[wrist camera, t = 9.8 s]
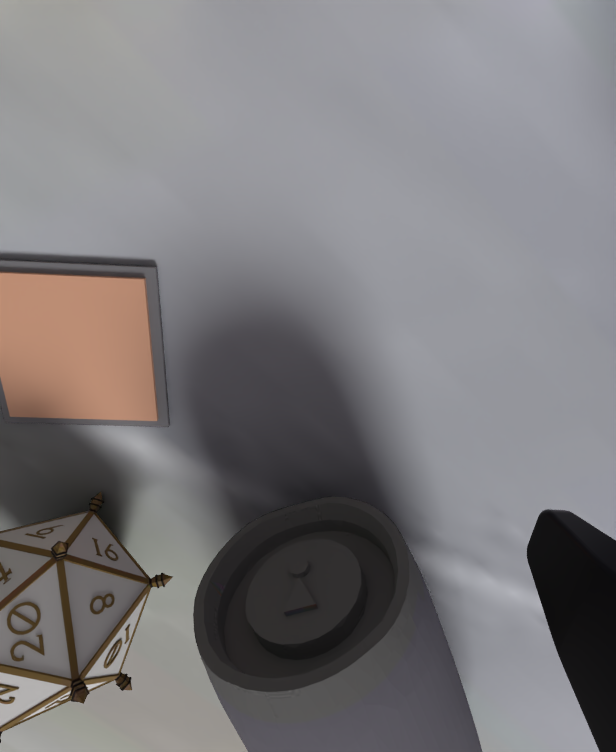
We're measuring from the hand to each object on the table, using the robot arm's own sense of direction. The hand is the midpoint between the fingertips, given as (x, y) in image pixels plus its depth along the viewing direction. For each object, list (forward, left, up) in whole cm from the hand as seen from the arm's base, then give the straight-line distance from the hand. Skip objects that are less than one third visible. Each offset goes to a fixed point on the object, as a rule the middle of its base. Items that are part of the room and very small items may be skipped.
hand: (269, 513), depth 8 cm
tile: (+8, +2, -12) cm, 14 cm away
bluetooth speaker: (-5, +19, -12) cm, 23 cm away
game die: (+9, +12, -12) cm, 19 cm away
